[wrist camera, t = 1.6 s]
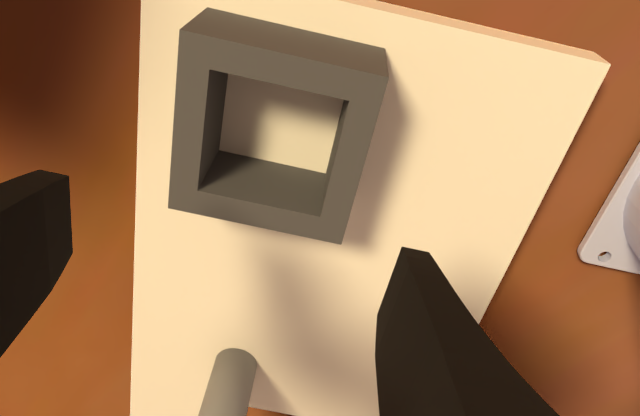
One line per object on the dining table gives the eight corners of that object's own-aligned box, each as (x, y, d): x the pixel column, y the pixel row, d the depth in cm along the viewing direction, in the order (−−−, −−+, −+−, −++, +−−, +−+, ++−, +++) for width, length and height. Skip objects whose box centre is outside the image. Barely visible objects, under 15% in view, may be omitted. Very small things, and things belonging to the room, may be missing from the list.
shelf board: (593, 51, 18) (695, 125, 13) (396, 457, 31) (404, 584, 25) (158, -52, 17) (63, -21, 12) (139, 408, 30) (89, 527, 24)
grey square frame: (385, 48, 17) (389, 77, 14) (343, 198, 20) (341, 244, 18) (207, 7, 17) (179, 29, 14) (192, 166, 20) (167, 208, 17)
